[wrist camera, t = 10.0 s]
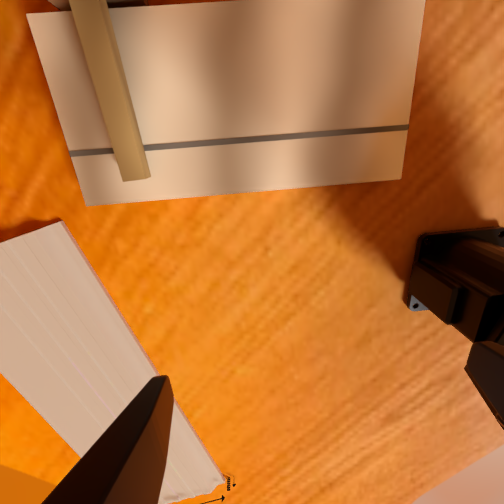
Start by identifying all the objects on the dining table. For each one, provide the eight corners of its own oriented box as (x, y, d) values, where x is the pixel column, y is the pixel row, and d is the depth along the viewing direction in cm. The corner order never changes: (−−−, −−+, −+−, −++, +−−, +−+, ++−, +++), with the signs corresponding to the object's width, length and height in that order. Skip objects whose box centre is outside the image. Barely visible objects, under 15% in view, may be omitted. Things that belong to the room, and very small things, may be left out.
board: (407, 4, 14) (427, -13, 13) (387, 176, 18) (401, 179, 16) (47, 27, 14) (25, 13, 12) (98, 200, 17) (86, 206, 16)
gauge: (120, -131, 12) (21, -369, 6) (183, 169, 17) (158, 182, 11) (30, -121, 12) (-148, -352, 6) (120, 177, 17) (64, 195, 11)
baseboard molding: (87, 211, 18) (-68, 265, 19) (61, 223, 15) (-118, 285, 16) (237, 469, 30) (138, 496, 31) (238, 502, 27) (129, 530, 28)
